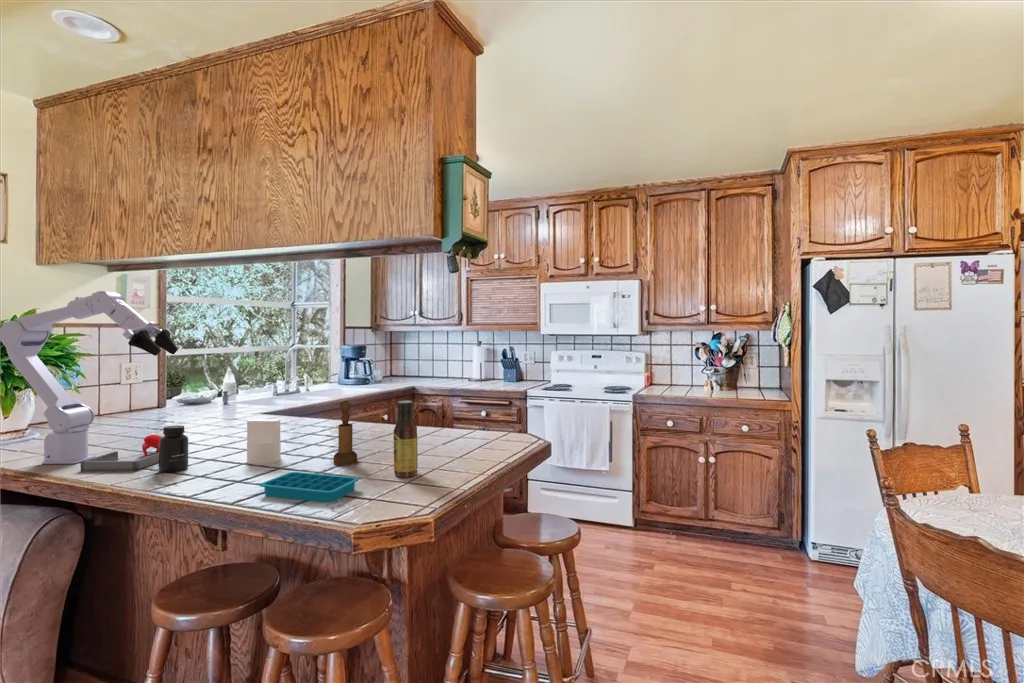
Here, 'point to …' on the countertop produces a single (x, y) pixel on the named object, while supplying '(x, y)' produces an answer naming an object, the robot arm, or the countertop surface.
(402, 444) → the sauce bottle
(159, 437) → the red curved piece
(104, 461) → the tray
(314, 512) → the countertop surface
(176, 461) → the supplement bottle
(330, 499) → the ice cube tray
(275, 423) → the cream upright block
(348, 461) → the brown wooden pepper mill
